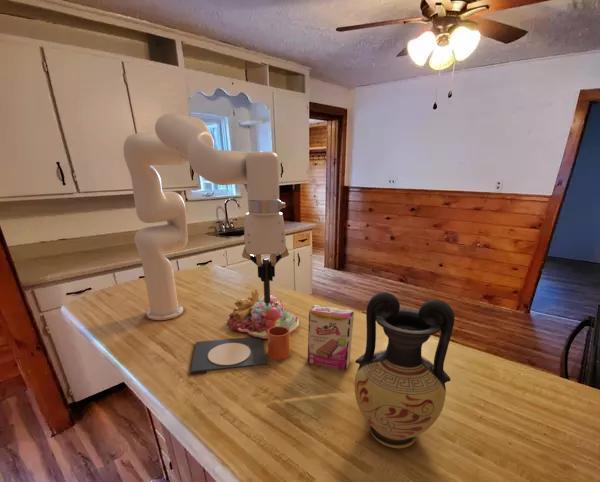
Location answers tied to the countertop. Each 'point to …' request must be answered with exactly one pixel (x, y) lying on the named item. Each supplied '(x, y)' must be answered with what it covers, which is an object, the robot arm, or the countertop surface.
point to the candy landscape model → (260, 316)
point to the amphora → (403, 369)
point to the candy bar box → (330, 336)
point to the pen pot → (278, 342)
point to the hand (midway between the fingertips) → (266, 279)
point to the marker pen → (266, 281)
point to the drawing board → (228, 354)
